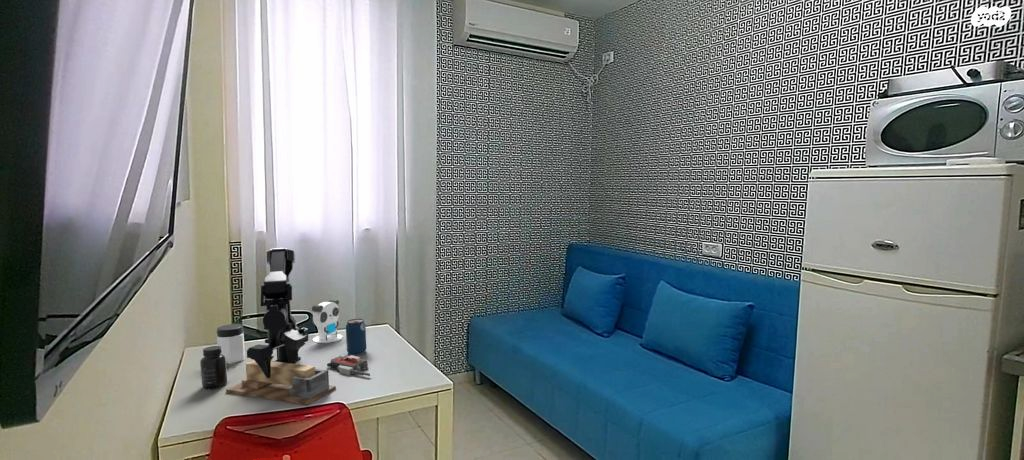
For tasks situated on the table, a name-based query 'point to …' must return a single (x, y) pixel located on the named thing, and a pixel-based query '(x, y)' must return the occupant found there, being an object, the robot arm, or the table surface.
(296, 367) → the oak rail
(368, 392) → the table surface
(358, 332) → the soda can
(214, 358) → the supplement bottle
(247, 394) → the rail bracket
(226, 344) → the jar
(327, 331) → the panda figurine
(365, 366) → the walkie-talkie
